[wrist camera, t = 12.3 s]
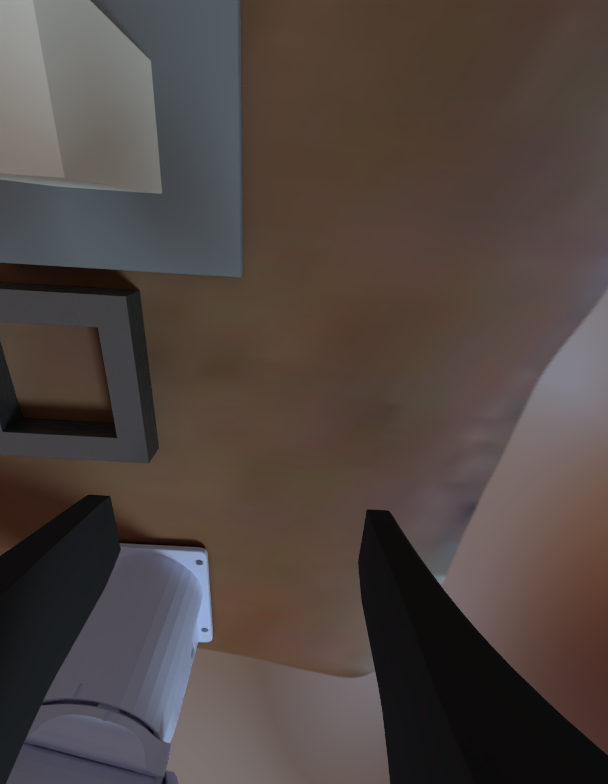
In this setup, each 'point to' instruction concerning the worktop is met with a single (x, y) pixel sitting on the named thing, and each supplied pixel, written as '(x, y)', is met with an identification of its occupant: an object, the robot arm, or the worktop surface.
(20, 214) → the rubber mat
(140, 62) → the square peg block
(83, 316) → the square socket
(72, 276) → the worktop surface
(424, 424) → the worktop surface
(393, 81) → the worktop surface
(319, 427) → the worktop surface
